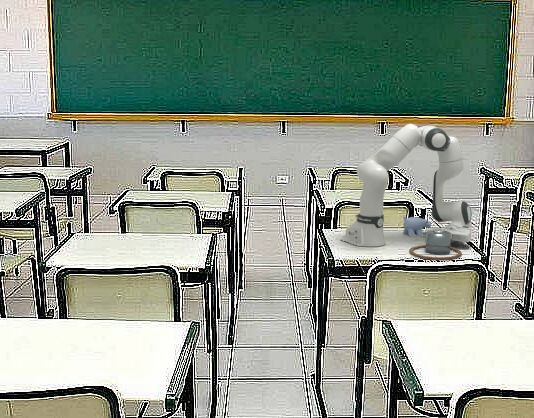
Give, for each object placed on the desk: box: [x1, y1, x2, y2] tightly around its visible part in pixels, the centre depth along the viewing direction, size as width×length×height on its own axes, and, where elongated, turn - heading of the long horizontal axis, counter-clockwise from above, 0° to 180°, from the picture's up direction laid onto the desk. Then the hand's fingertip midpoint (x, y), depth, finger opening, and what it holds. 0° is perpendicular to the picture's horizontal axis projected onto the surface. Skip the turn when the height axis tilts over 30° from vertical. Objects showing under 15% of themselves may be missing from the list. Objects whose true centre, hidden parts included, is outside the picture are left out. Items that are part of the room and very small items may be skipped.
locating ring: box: [408, 244, 463, 261], centre depth 345 cm, size 23×23×1 cm
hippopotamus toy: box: [402, 216, 432, 238], centre depth 380 cm, size 11×15×10 cm
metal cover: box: [425, 230, 452, 256], centre depth 347 cm, size 11×11×10 cm
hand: (442, 237), depth 351 cm, fingers closed
